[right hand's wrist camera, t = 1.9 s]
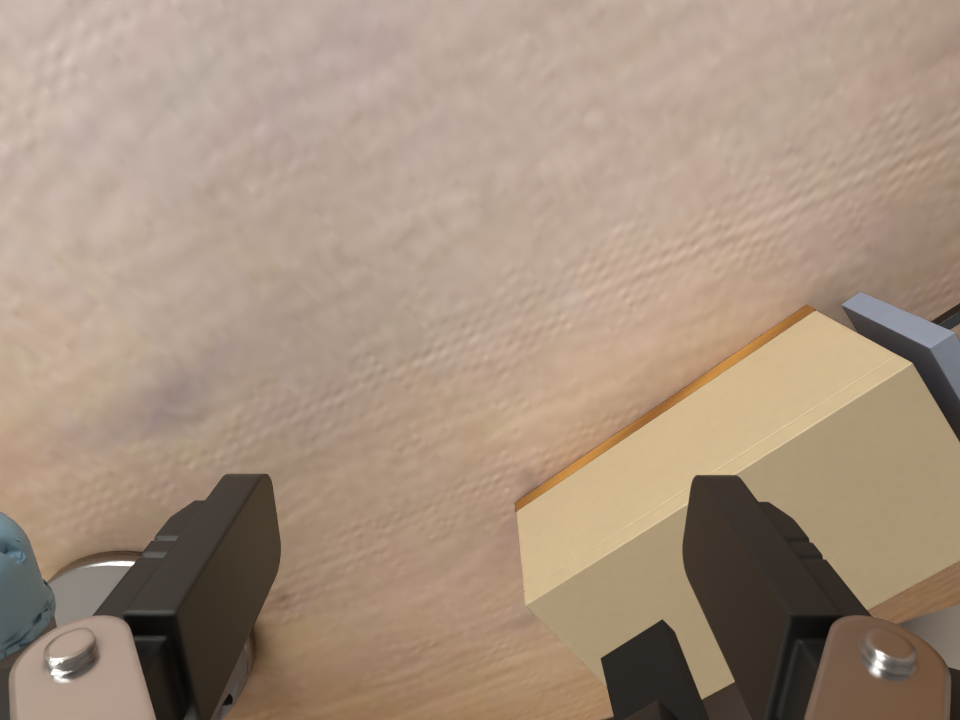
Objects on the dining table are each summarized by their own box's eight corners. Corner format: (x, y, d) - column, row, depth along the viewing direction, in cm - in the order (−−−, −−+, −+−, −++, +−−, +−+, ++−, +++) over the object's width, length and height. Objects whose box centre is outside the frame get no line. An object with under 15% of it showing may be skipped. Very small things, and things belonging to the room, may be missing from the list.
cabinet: (806, 304, 34) (913, 362, 26) (894, 441, 38) (1014, 532, 29) (514, 502, 39) (524, 605, 31) (614, 609, 42) (647, 729, 34)
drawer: (958, 226, 32) (1083, 251, 25) (1030, 364, 35) (1159, 420, 28) (568, 486, 38) (587, 563, 31) (657, 587, 40) (692, 677, 34)
